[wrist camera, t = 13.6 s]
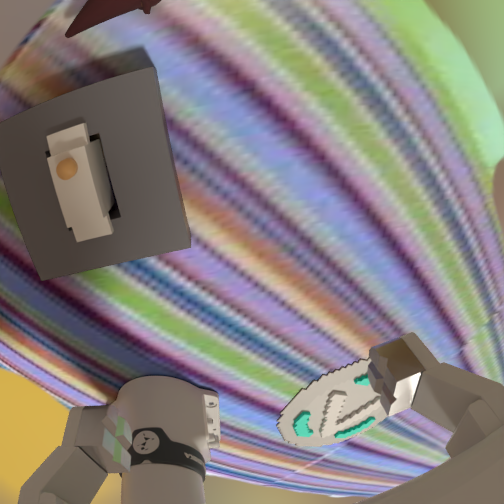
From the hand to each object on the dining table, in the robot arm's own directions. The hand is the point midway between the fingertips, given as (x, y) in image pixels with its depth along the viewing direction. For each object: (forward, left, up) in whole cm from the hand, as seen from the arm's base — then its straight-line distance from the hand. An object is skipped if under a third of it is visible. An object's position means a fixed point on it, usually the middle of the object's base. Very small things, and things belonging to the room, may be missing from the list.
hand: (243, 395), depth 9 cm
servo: (+3, +12, -27) cm, 29 cm away
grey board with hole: (+3, +12, -27) cm, 29 cm away
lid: (-48, -17, -28) cm, 58 cm away
